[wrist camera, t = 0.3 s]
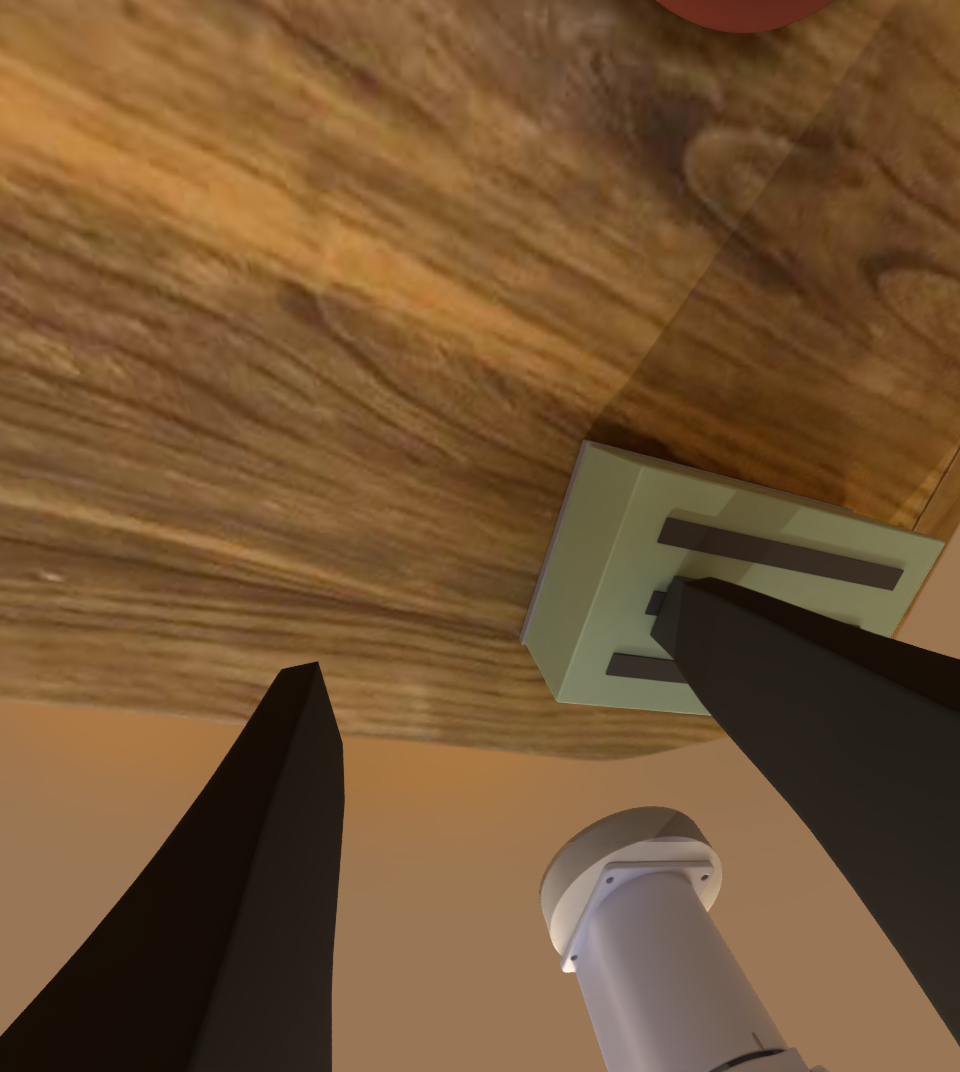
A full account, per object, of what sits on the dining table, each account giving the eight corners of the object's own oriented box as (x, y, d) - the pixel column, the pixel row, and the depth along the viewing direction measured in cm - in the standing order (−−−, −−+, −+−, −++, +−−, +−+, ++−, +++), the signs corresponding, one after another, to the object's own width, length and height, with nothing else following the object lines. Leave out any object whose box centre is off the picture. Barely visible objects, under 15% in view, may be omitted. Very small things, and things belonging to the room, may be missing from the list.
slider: (695, 641, 17) (755, 694, 14) (648, 635, 17) (702, 688, 14) (720, 583, 17) (789, 627, 14) (673, 574, 16) (735, 618, 13)
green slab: (763, 669, 25) (841, 731, 21) (518, 638, 21) (553, 706, 17) (845, 507, 22) (954, 540, 18) (582, 438, 19) (643, 460, 14)
